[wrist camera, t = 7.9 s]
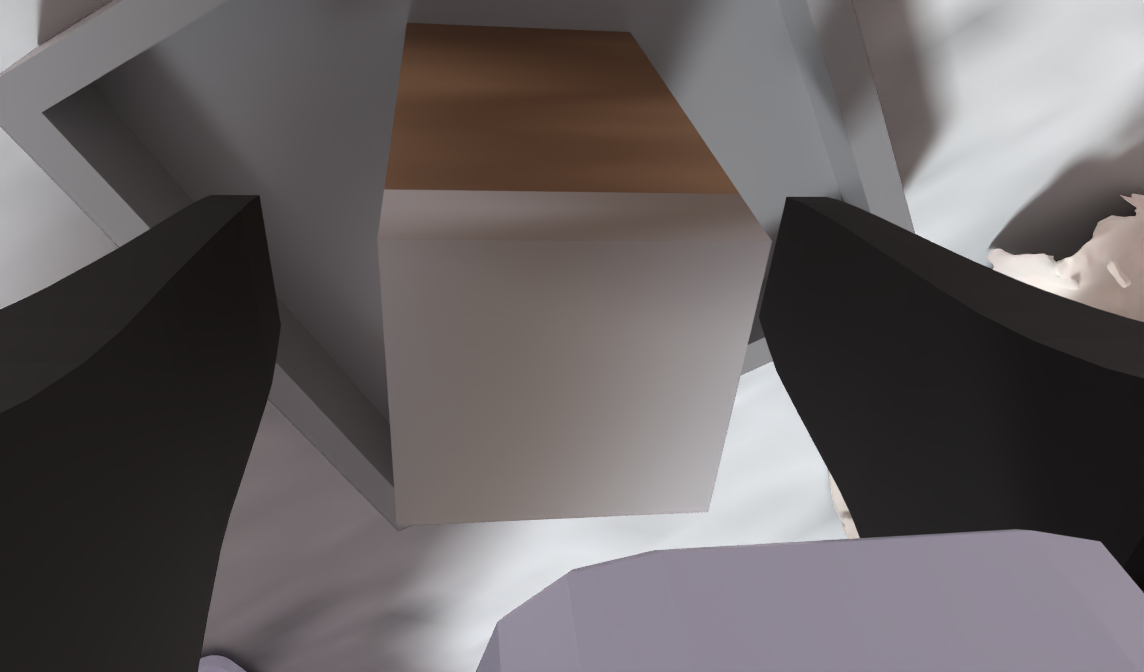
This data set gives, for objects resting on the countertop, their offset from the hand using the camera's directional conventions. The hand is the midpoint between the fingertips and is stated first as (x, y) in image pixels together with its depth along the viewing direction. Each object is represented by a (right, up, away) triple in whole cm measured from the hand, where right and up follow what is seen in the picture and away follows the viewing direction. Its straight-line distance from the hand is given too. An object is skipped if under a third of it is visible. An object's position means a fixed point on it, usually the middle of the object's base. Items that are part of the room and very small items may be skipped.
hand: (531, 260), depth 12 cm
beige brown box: (0, +2, +2) cm, 3 cm away
